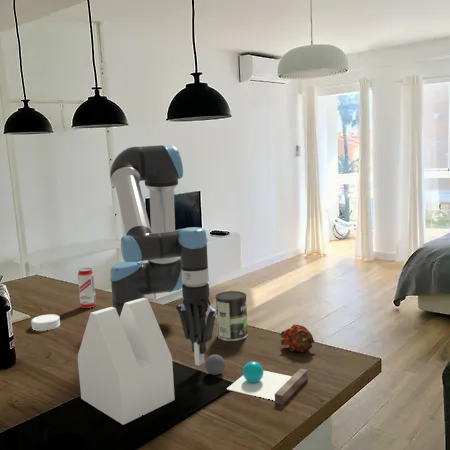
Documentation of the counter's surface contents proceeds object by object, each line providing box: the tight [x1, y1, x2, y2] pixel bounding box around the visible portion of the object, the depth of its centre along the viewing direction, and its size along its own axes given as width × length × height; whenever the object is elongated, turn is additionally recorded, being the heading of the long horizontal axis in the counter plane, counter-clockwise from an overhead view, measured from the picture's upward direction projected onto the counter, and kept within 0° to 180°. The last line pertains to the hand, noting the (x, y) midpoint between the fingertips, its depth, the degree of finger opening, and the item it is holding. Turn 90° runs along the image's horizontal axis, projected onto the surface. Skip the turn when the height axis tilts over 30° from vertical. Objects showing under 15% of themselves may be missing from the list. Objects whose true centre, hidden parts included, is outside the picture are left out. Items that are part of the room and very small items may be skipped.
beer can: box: [77, 267, 97, 309], centre depth 208 cm, size 6×6×16 cm
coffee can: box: [214, 290, 249, 342], centre depth 169 cm, size 10×10×14 cm
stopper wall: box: [274, 368, 308, 406], centre depth 129 cm, size 16×2×2 cm, turn 149°
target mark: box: [226, 369, 293, 402], centre depth 134 cm, size 14×14×1 cm
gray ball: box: [204, 354, 226, 376], centre depth 141 cm, size 6×6×6 cm
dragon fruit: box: [279, 324, 315, 353], centre depth 155 cm, size 8×8×12 cm
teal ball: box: [242, 360, 264, 383], centre depth 135 cm, size 6×6×6 cm
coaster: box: [30, 313, 61, 332], centre depth 187 cm, size 10×10×4 cm
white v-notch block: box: [77, 297, 175, 426], centre depth 127 cm, size 19×15×25 cm
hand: (199, 363), depth 144 cm, fingers closed
